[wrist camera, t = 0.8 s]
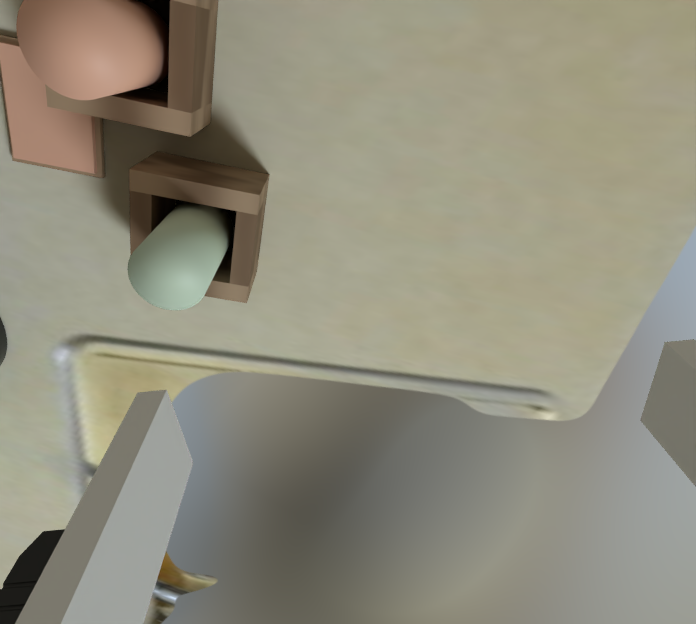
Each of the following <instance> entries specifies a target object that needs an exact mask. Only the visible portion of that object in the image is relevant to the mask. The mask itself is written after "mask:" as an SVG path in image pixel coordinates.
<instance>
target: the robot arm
mask: <svg viewBox="0 0 696 624" xmlns="http://www.w3.org/2000/svg"><path fill="white" fill-rule="evenodd" d="M6 350H7V337H6V332H5V329H4V325H3V323H2V321H1V319H0V365H1V364H2V362H3V360H4V358H5V355H6ZM641 421H642V423H643V424H644V425H645V426H646V428H647V429H648V430H649V431H650V432H651V434H652V435H653V436H654V437H655V438H656V440H657V441H658V442H659V443H660V444H661V446H662V447H663V448H664V449H665V450H666V451H667V453H668V454H669V455H670V456H671V457H672V459H673V460H674V461H675V462H676V464H677V465H678V466H679V467H680V468H681V470H682V471H683V472H684V473H685V474H686V476H687V477H688V478H689V479H690V480H691V481H692V483H693V484H694V485H695V486H696V340H694V339H693V340H683V341H672V342H665V344H664V347H663V350H662V353H661V356H660V359H659V363H658V366H657V369H656V372H655V376H654V379H653V382H652V385H651V388H650V391H649V394H648V398H647V401H646V404H645V407H644V411H643V413H642V417H641ZM192 465H193V461H192V458H191V455H190V452H189V450H188V447H187V445H186V441H185V439H184V436H183V433H182V430H181V428H180V425H179V422H178V420H177V417H176V414H175V412H174V409H173V406H172V403H171V400H170V398H169V395H168V392H167V390H159V391H149V392H139V393H137V395H136V397H135V399H134V401H133V402H132V404H131V406H130V408H129V410H128V412H127V414H126V416H125V418H124V419H123V421H122V423H121V425H120V427H119V429H118V431H117V433H116V434H115V436H114V438H113V440H112V442H111V444H110V446H109V448H108V450H107V451H106V453H105V455H104V457H103V459H102V461H101V463H100V465H99V466H98V468H97V470H96V472H95V474H94V476H93V478H92V480H91V482H90V483H89V485H88V487H87V489H86V491H85V493H84V495H83V497H82V499H81V500H80V502H79V504H78V506H77V508H76V510H75V512H74V514H73V515H72V517H71V519H70V521H69V523H68V525H67V527H66V529H65V530H54V531H43V532H42V533H41V534H40V535H39V536H38V538H37V539H36V540H35V541H34V542H33V543H32V544H31V545H30V546H29V547H28V548H27V549H26V550H25V551H24V552H23V553H22V554H21V555H20V556H19V558H18V559H17V561H16V563H15V565H14V566H13V568H12V570H11V571H10V573H9V575H8V576H7V578H6V580H5V581H4V583H3V588H2V589H0V624H143V623H144V619H145V616H146V613H147V610H148V607H149V603H150V600H151V597H152V594H153V590H154V587H155V584H156V581H157V578H158V574H159V571H160V568H161V565H162V562H163V558H164V555H165V552H166V549H167V545H168V542H169V539H170V536H171V533H172V529H173V526H174V523H175V519H176V516H177V513H178V510H179V507H180V504H181V500H182V497H183V494H184V491H185V487H186V484H187V481H188V478H189V474H190V471H191V468H192Z"/></svg>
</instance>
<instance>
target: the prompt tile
mask: <svg viewBox="0 0 696 624" xmlns="http://www.w3.org/2000/svg"><path fill="white" fill-rule="evenodd" d="M0 74H1V81H2V88H3V96H4V103H5V110H6V117H7V124H8V131H9V138H10V146H11V153H12V160H13V161H17V162H22V163H27V164H32V165H37V166H43V167H48V168H53V169H58V170H63V171H68V172H73V173H78V174H84V175H89V176H94V177H99V178H104V177H105V161H104V138H103V118H99V117H94V116H89V115H85V114H80V113H75V112H71V111H66V110H61V109H56V108H52V107H47V96H46V86H45V84H44V83H43V82H42V81H41V80H40V79H39V78H38V77H37V76H36V74H35V73H34V72H33V71H32V69H31V68H30V66H29V65H28V63H27V61H26V60H25V58H24V56H23V53H22V51H21V48H20V45H19V42H18V38H14V37H10V36H6V35H1V34H0Z"/></svg>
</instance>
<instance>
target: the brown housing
mask: <svg viewBox="0 0 696 624" xmlns="http://www.w3.org/2000/svg"><path fill="white" fill-rule="evenodd" d="M217 11H218V0H170V24H169V73H168V93H166V92H161V91H157V90H152V89H148V88H139V89H134V90H130V91H126V92H122V93H118V94H114V95H110V96H106V97H102V98H98V99H94V100H76V99H72V98H68V97H66V96H63V95H61V94H59V93H57V92H55V91H54V90H52V89H51V88H49V87H48V86H47V85H46V84H45V86H46V96H47V107H52V108H56V109H61V110H66V111H71V112H75V113H80V114H85V115H89V116H94V117H99V118H104V119H108V120H113V121H118V122H122V123H127V124H132V125H137V126H141V127H146V128H151V129H155V130H160V131H165V132H170V133H174V134H179V135H184V136H189V137H191V136H192V135H194V134H195V133H197V132H198V131H200V130H201V129H203V128H204V127H206V126H207V125H209V124H210V121H211V105H212V90H213V74H214V58H215V42H216V27H217Z"/></svg>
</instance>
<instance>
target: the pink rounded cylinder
mask: <svg viewBox="0 0 696 624" xmlns="http://www.w3.org/2000/svg"><path fill="white" fill-rule="evenodd" d="M16 27H17V37H18V42H19V45H20V48H21V51H22V53H23V56H24V58H25V60H26V61H27V63H28V65H29V66H30V68H31V69H32V71H33V72H34V73H35V74H36V76H37V77H38V78H39V79H40V80H41V81H42V82H43V83H44V84H46V85H47V86H48V87H49V88H51V89H52V90H54V91H55V92H57V93H59V94H61V95H63V96H66V97H68V98H72V99H76V100H94V99H98V98H102V97H106V96H110V95H114V94H118V93H122V92H126V91H130V90H134V89H139V88H143V87H147V86H151V85H154V84H157V83H159V82H160V81H162V80H163V79H164V78H165V77H166V76H167V75H168V73H169V28H168V26H167V25H166V23H165V22H164V20H163V19H162V18H161V16H160V15H159V14H158V13H157V12H156V11H155V10H153V9H152V8H151V7H149V6H148V5H146V4H144V3H142V2H139V1H136V0H24V1H23V2H22V4H21V6H20V9H19V11H18V16H17V25H16Z"/></svg>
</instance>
